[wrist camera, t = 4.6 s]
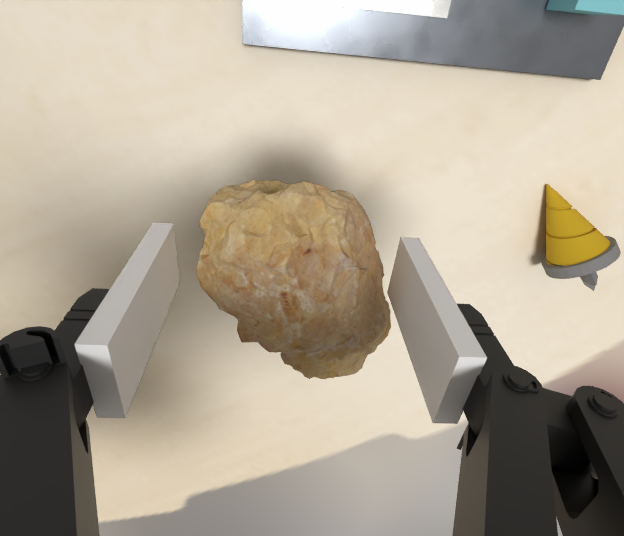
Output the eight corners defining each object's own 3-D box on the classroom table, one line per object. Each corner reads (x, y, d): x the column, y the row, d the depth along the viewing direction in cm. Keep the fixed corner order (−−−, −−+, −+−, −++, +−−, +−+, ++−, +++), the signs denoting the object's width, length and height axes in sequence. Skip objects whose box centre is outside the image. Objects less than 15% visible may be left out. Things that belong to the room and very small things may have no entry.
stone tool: (147, 257, 12) (428, 418, 13) (263, 104, 15) (486, 245, 16) (165, 316, 20) (333, 410, 21) (236, 211, 23) (382, 298, 24)
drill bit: (567, 315, 32) (517, 206, 31) (552, 290, 37) (508, 194, 35) (645, 292, 30) (596, 172, 28) (618, 267, 35) (574, 164, 33)
